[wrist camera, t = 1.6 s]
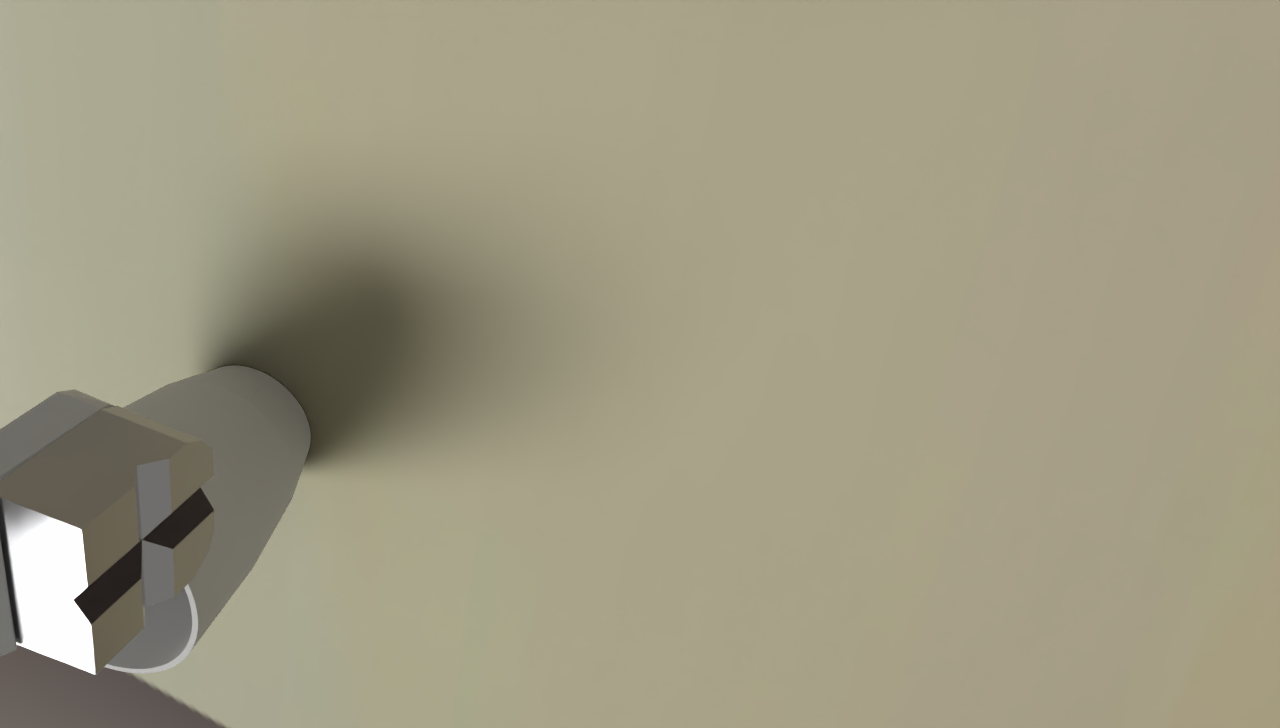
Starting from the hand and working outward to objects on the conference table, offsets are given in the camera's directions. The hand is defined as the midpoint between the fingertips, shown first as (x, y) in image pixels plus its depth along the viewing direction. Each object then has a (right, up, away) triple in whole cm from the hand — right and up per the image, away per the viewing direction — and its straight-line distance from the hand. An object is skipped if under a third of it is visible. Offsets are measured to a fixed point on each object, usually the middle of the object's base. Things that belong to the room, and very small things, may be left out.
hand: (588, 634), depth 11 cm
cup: (-15, 0, +35) cm, 38 cm away
